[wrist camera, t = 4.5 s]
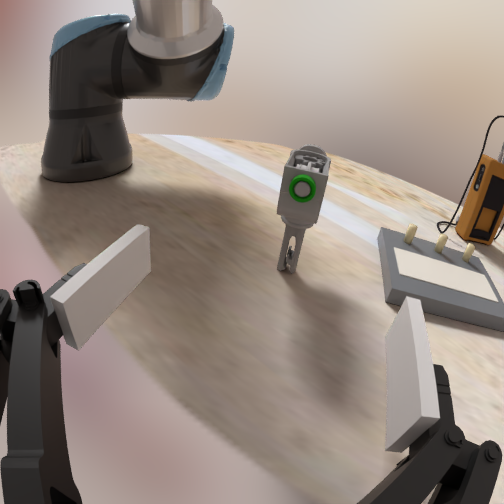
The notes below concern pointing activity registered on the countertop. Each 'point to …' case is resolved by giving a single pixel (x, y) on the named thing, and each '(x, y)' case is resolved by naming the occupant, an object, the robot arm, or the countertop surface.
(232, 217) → the countertop surface
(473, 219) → the multimeter
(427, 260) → the board
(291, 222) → the mechanical component
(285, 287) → the countertop surface
